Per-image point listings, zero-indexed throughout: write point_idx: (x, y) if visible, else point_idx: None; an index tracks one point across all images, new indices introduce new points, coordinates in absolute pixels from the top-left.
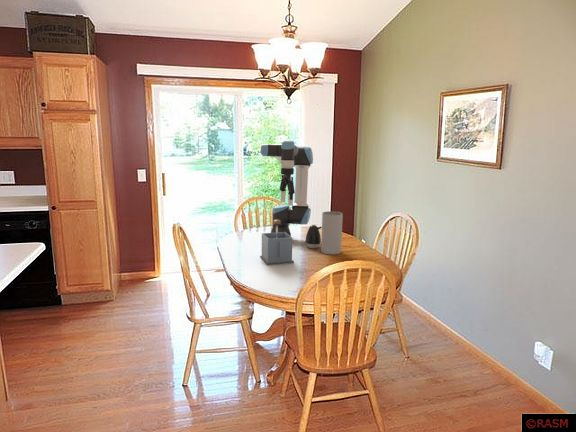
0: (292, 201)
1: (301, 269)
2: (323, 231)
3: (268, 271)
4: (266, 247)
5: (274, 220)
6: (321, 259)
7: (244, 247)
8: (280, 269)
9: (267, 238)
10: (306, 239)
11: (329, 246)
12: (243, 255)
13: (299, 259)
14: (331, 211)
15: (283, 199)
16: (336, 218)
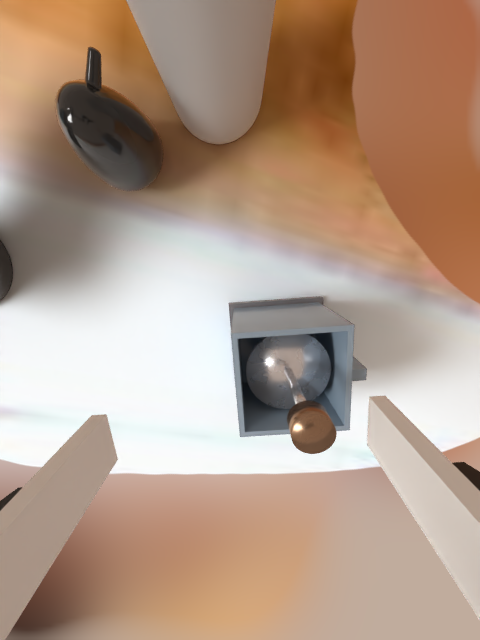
0: (416, 434)
1: (393, 289)
2: (223, 84)
3: (377, 385)
4: None
5: (315, 449)
6: (308, 181)
7: (117, 413)
8: (371, 350)
9: (337, 430)
10: (128, 185)
11: (258, 101)
12: (209, 426)
13: (288, 266)
14: None
15: (92, 461)
16: None
